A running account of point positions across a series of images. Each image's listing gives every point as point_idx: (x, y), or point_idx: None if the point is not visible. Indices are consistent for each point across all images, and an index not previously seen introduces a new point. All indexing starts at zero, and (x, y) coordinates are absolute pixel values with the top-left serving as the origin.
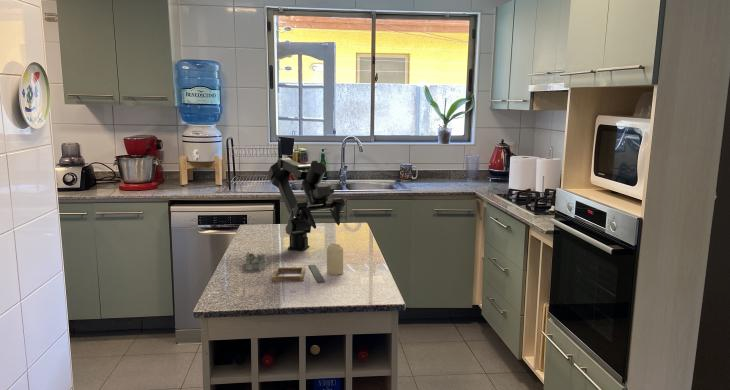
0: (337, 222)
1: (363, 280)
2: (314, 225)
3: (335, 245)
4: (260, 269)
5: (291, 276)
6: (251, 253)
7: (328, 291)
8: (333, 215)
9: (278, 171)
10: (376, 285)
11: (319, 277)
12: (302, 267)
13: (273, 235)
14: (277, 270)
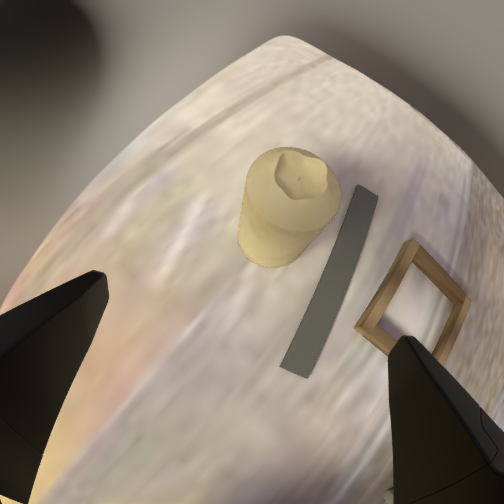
0: (92, 307)
1: (248, 122)
2: (424, 347)
3: (285, 188)
4: None
5: (436, 266)
6: None
7: (377, 138)
8: (27, 449)
9: None
10: (249, 85)
11: (356, 222)
12: (371, 330)
13: None
14: (442, 353)
